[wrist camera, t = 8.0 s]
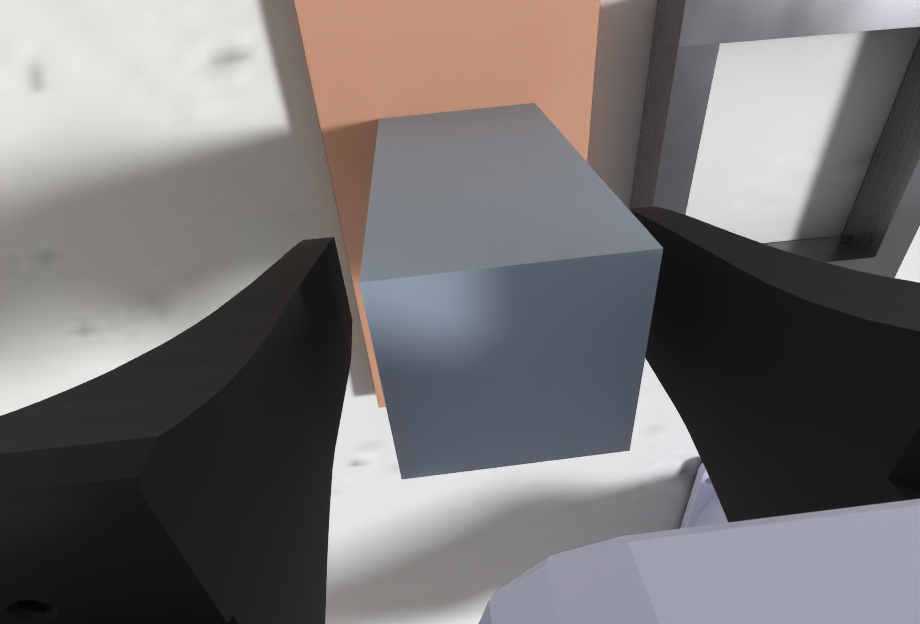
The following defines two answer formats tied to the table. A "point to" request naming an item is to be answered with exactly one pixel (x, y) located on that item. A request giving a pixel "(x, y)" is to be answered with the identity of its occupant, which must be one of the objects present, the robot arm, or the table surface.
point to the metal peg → (502, 293)
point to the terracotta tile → (437, 80)
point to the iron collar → (686, 97)
